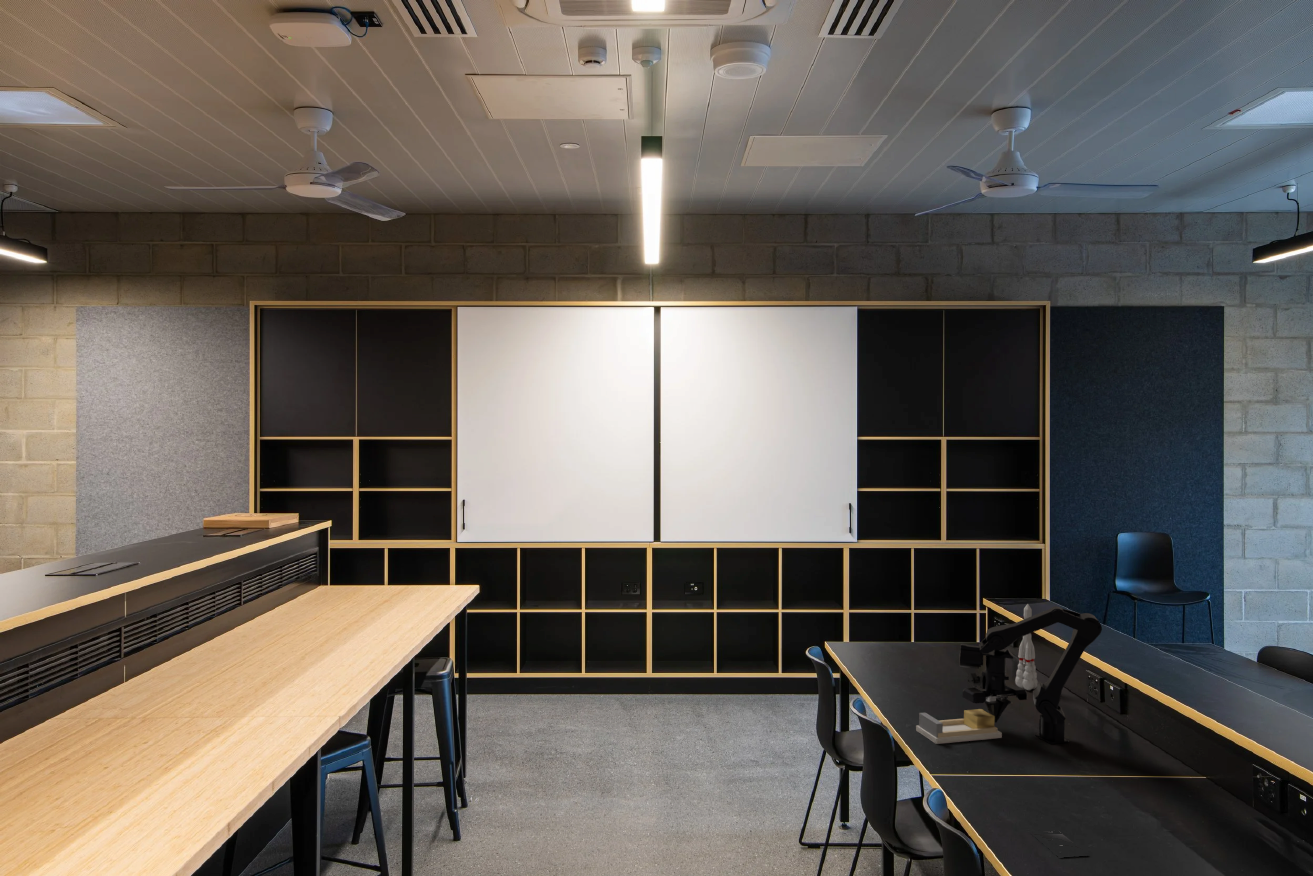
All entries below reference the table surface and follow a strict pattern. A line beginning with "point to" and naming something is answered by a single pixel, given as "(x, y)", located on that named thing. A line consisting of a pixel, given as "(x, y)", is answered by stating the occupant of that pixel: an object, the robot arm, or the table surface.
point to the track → (952, 730)
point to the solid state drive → (1059, 836)
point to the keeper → (978, 719)
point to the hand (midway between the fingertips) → (994, 722)
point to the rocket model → (1026, 660)
